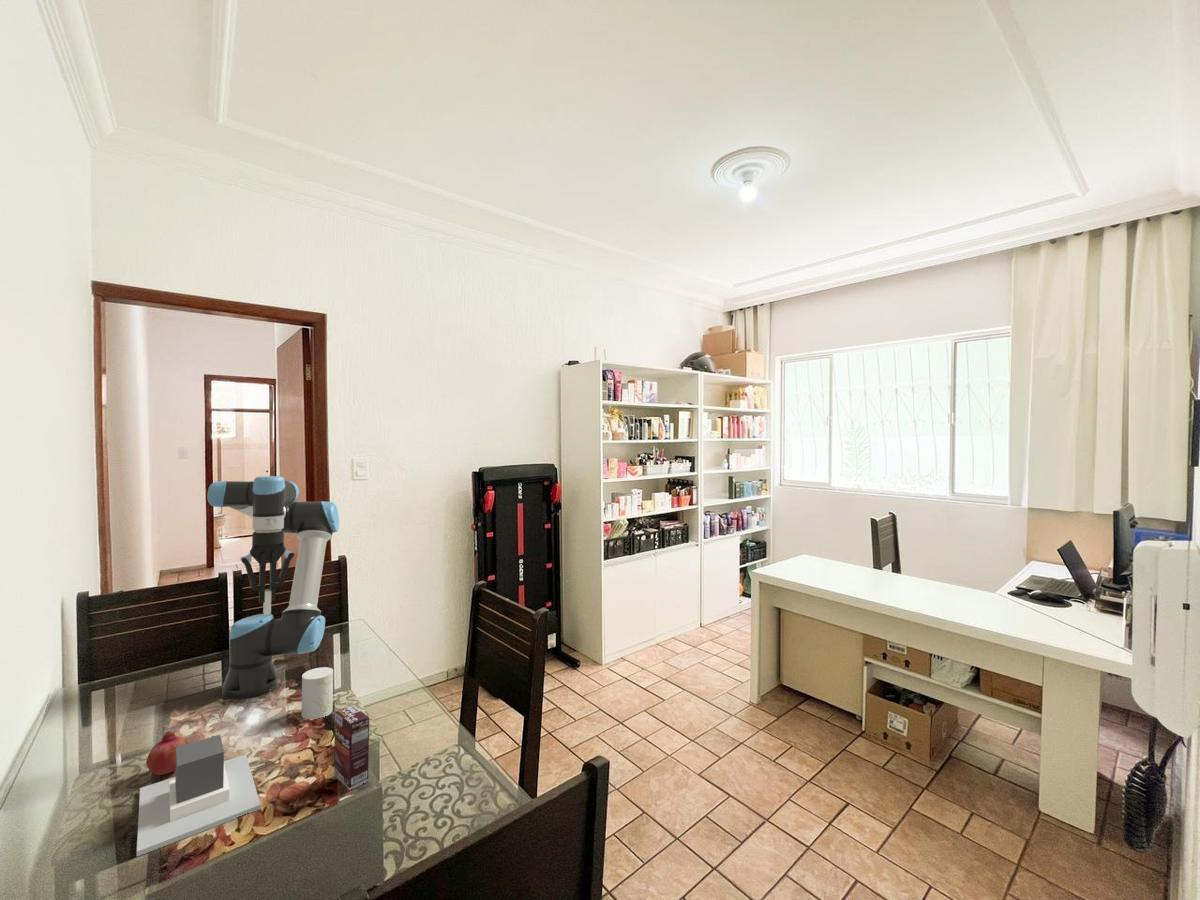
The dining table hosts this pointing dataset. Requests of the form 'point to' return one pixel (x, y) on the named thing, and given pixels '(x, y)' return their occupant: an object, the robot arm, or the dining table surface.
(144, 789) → the socket
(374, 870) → the dining table surface
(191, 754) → the plug
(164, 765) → the fruit
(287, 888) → the dining table surface
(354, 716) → the supplement box
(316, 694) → the white cylinder
